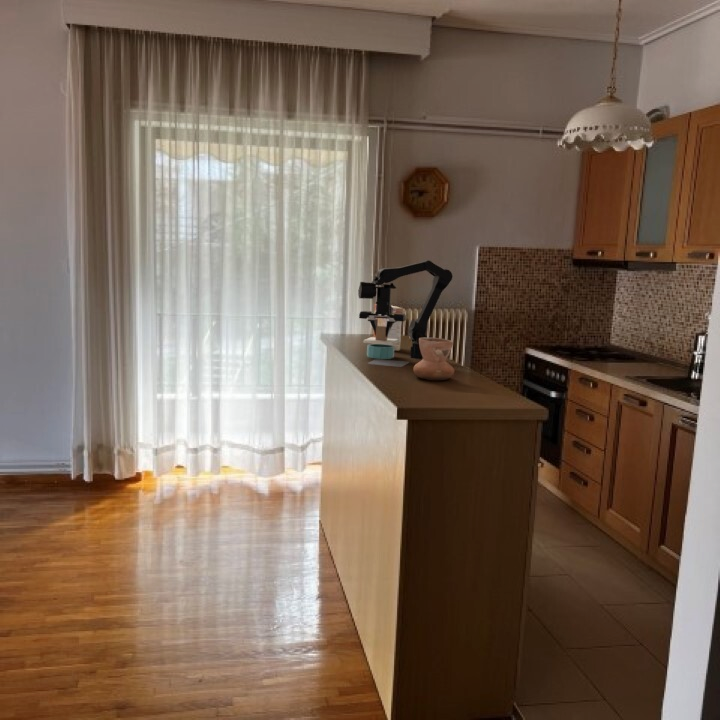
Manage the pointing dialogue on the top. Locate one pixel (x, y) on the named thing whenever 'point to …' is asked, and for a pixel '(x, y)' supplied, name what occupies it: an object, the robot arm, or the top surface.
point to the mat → (388, 362)
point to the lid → (381, 337)
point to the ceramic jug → (434, 359)
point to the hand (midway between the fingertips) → (381, 336)
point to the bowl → (380, 351)
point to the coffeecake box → (395, 329)
